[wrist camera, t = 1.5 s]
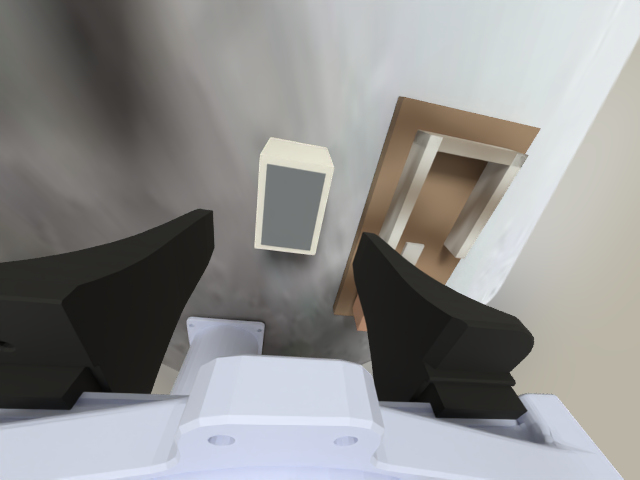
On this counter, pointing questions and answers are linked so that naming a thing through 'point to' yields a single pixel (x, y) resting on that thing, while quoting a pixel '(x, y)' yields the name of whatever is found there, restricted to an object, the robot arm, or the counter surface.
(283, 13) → the counter surface
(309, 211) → the block
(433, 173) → the rail board
